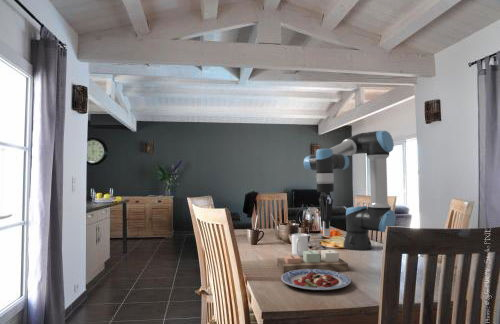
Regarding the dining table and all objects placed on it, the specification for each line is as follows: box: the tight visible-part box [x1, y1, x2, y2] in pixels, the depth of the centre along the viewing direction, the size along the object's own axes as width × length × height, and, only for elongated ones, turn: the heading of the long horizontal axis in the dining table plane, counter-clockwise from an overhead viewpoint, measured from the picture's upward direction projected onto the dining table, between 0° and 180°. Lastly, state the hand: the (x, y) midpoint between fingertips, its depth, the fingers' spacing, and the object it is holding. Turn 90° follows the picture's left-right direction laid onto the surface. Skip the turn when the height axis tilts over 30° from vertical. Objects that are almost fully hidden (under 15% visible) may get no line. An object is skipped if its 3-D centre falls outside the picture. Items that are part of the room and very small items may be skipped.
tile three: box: [284, 254, 301, 264], centre depth 151 cm, size 6×6×4 cm
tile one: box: [320, 249, 340, 262], centre depth 153 cm, size 6×6×4 cm
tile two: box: [302, 250, 321, 263], centre depth 152 cm, size 6×6×4 cm
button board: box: [276, 256, 349, 274], centre depth 152 cm, size 28×14×3 cm, turn 96°
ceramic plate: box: [280, 269, 352, 291], centre depth 130 cm, size 26×26×3 cm
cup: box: [291, 233, 309, 257], centre depth 177 cm, size 8×12×10 cm
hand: (326, 235), depth 154 cm, fingers closed
